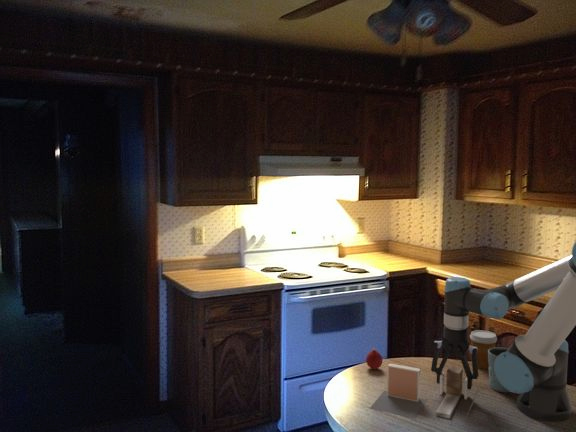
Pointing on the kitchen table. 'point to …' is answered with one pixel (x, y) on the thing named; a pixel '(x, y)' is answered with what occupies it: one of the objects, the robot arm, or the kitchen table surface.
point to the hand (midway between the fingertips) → (453, 395)
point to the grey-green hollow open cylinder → (492, 375)
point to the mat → (398, 405)
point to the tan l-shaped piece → (451, 392)
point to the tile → (403, 382)
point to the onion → (374, 359)
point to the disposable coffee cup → (483, 346)
